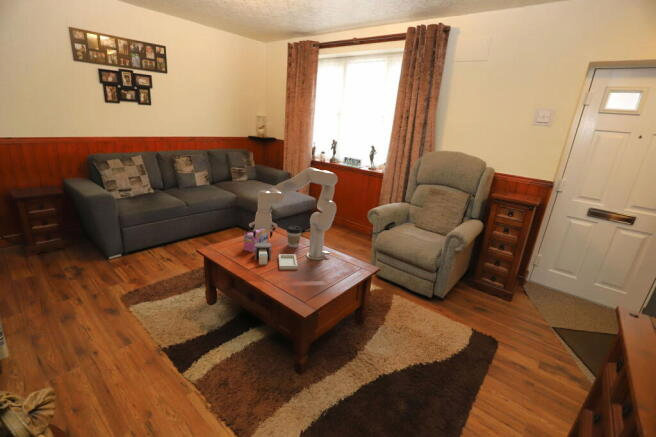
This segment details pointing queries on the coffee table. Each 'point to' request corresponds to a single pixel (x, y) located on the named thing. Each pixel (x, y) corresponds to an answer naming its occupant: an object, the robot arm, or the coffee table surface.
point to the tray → (287, 262)
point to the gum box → (255, 239)
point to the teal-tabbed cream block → (262, 256)
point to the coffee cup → (293, 236)
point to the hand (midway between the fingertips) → (262, 237)
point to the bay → (263, 245)
